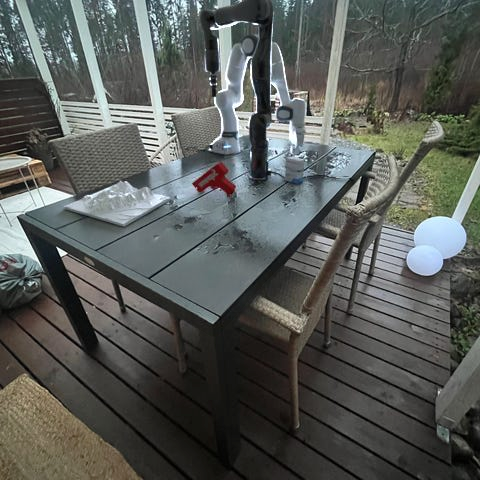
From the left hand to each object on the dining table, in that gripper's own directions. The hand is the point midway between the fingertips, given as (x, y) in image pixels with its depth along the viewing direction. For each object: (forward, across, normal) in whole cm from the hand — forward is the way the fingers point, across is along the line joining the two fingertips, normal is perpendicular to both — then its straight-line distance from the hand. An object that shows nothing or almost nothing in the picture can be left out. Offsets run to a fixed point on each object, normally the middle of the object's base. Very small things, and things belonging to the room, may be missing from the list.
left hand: (294, 150), depth 175 cm
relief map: (+5, +60, -95) cm, 113 cm away
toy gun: (+5, +52, -53) cm, 74 cm away
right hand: (-33, +8, -50) cm, 60 cm away
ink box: (+5, +40, -11) cm, 42 cm away
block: (+2, 0, 0) cm, 2 cm away
